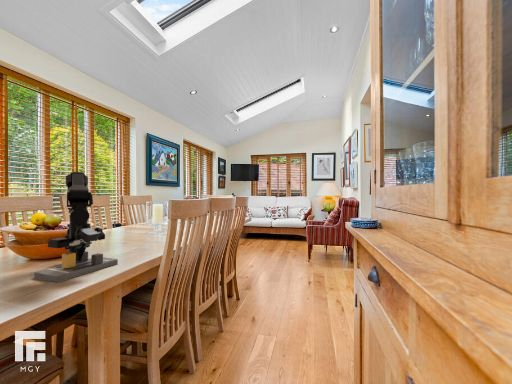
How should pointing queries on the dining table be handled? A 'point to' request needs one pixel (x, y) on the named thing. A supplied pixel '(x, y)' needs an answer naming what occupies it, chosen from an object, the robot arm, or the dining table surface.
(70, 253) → the toggle
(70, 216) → the robot arm
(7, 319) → the dining table surface
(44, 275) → the panel
